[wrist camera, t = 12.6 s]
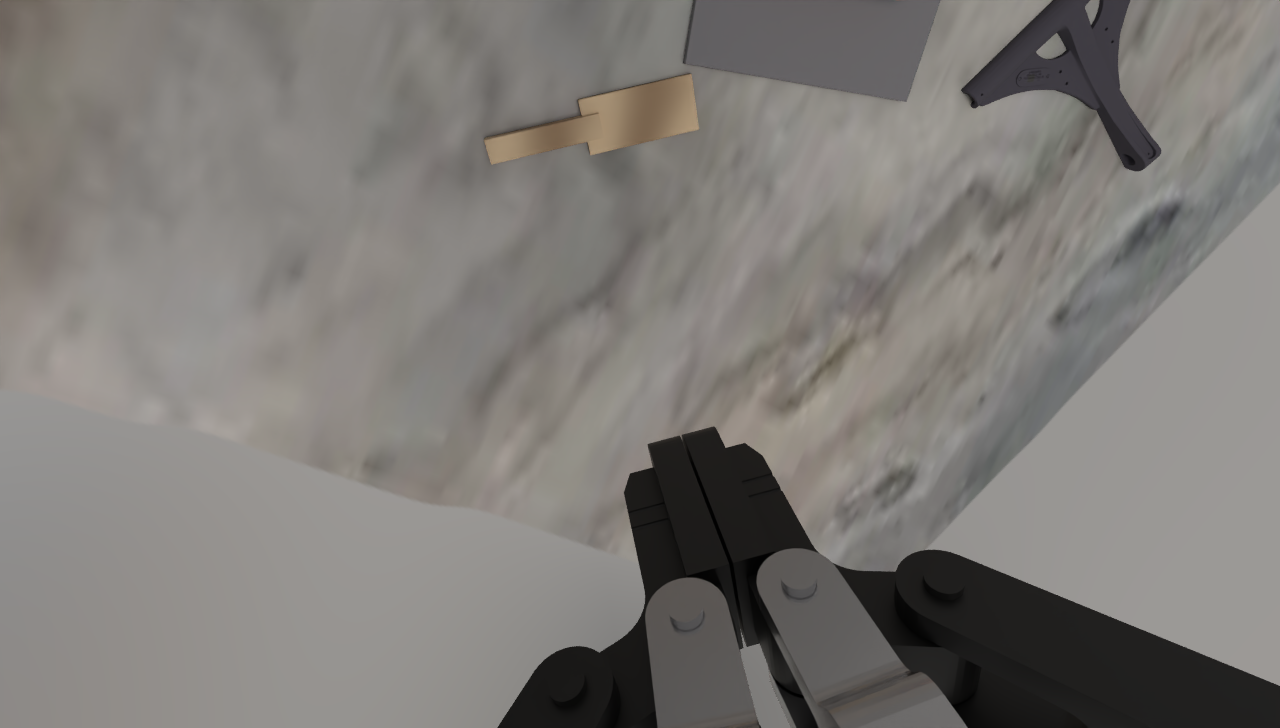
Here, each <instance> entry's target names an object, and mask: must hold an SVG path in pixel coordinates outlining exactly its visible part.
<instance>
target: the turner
mask: <svg viewBox="0 0 1280 728" xmlns="http://www.w3.org/2000/svg"><path fill="white" fill-rule="evenodd" d="M578 103H579V108H580V112H581V115H580V116H576V117H572V118H568V119H563V120H559V121H555V122H551V123H546V124H542V125H538V126H534V127H529V128H525V129H521V130H516V131H512V132H508V133H504V134H499V135H495V136H491V137H487V138H485V139H484V142H485V146H486V149H487V152H488V155H489V158H490V161H491V164H496V163H500V162H504V161H508V160H512V159H517V158H521V157H525V156H529V155H534V154H538V153H542V152H546V151H550V150H555V149H559V148H563V147H567V146H572V145H576V144H580V143H584V142H587V143H588V147H589V152H590V155H594V154H598V153H602V152H606V151H611V150H615V149H619V148H623V147H627V146H632V145H636V144H640V143H644V142H648V141H653V140H657V139H661V138H665V137H669V136H674V135H678V134H682V133H686V132H690V131H695V130H699V127H698V119H697V112H696V104H695V97H694V89H693V82H692V74H690V73H689V74H685V75H681V76H677V77H672V78H668V79H664V80H659V81H655V82H651V83H647V84H642V85H638V86H634V87H629V88H625V89H621V90H616V91H612V92H608V93H604V94H599V95H595V96H591V97H586V98H582V99H578Z"/></svg>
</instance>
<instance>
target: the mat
mask: <svg viewBox="0 0 1280 728" xmlns="http://www.w3.org/2000/svg"><path fill="white" fill-rule="evenodd" d="M939 3H940V0H898V1H893V0H694V2H693V8H692V14H691V19H690V25H689V31H688V37H687V43H686V49H685V55H684V61H683V63H686V64H691V65H697V66H703V67H709V68H714V69H720V70H726V71H732V72H738V73H743V74H749V75H755V76H761V77H766V78H772V79H778V80H784V81H789V82H795V83H801V84H807V85H813V86H818V87H824V88H830V89H836V90H841V91H847V92H853V93H859V94H864V95H870V96H876V97H882V98H888V99H893V100H899V101H905V102H906V101H907V98H908V95H909V92H910V89H911V86H912V83H913V80H914V78H915V75H916V72H917V69H918V66H919V63H920V60H921V57H922V54H923V51H924V48H925V45H926V42H927V39H928V36H929V33H930V30H931V27H932V24H933V21H934V18H935V15H936V12H937V9H938V6H939Z"/></svg>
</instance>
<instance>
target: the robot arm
mask: <svg viewBox="0 0 1280 728" xmlns="http://www.w3.org/2000/svg"><path fill="white" fill-rule="evenodd" d="M682 441H683V442H682ZM648 449H649V453H650V457H651V461H652V466H653V468H649V469H646V470H642V471H638V472H634V473H631V474H630V475H629V478H628V482H627V485H626V488H625V491H624V495H625V500H626V505H627V509H628V514H629V519H630V523H631V528H632V533H633V537H634V542H635V547H636V552H637V556H638V561H639V565H640V570H641V575H642V579H643V584H644V589H645V605H644V609H643V612H642V614H641V617H640V619H639V620H638V622H637V623H636V625H635V626H634V627H633V629H632V630H631V631H630V632H629V633H628V634H627V635H625V636H624V637H623V638H622V639H620V640H619V641H617V642H615V643H614V644H613V645H611V646H609V647H608V648H606V649H605V650H603V651H601V652H600V653H599V652H597V651H595V650H593V649H591V648H588V647H581V646H576V647H569V648H565V649H562V650H559V651H557V652H555V653H554V654H552V655H550V656H549V657H548V658H546V659H545V660H544V661H543V662H542V663H541V664H540V665H539V666H538V667H537V669H536V670H535V671H534V673H533V674H532V676H531V677H530V679H529V680H528V682H527V683H526V685H525V686H524V688H523V690H522V691H521V692H520V694H519V696H518V697H517V699H516V700H515V702H514V703H513V705H512V706H511V708H510V709H509V711H508V712H507V714H506V715H505V717H504V718H503V720H502V722H501V723H500V725H499V726H498V728H761V726H760V725H759V722H758V719H757V716H756V712H755V708H754V704H753V700H752V696H751V693H750V689H749V685H748V681H747V677H746V673H745V670H744V666H743V662H742V658H741V654H740V649H742V648H743V643H742V637H741V632H742V635H743V637H744V641H745V643H746V646H747V647H748V646H752V645H755V644H759V643H760V645H761V648H762V651H763V653H764V656H765V658H766V661H767V664H768V670H769V677H770V682H771V685H772V688H773V690H774V692H775V694H776V697H777V699H778V701H779V703H780V705H781V708H782V709H783V712H784V714H785V716H786V718H787V721H788V723H789V725H790V727H791V728H1280V686H1278V685H1276V684H1274V683H1271V682H1269V681H1266V680H1264V679H1261V678H1259V677H1256V676H1254V675H1251V674H1249V673H1247V672H1244V671H1242V670H1239V669H1237V668H1234V667H1232V666H1229V665H1227V664H1224V663H1222V662H1219V661H1217V660H1215V659H1212V658H1210V657H1207V656H1205V655H1202V654H1200V653H1198V652H1195V651H1193V650H1190V649H1187V648H1185V647H1183V646H1180V645H1178V644H1175V643H1173V642H1171V641H1168V640H1166V639H1163V638H1160V637H1158V636H1156V635H1153V634H1151V633H1148V632H1146V631H1144V630H1141V629H1139V628H1136V627H1134V626H1131V625H1129V624H1126V623H1124V622H1121V621H1119V620H1117V619H1114V618H1112V617H1109V616H1107V615H1104V614H1101V613H1099V612H1097V611H1095V610H1092V609H1090V608H1087V607H1085V606H1082V605H1080V604H1077V603H1075V602H1072V601H1070V600H1068V599H1065V598H1063V597H1060V596H1058V595H1055V594H1053V593H1050V592H1048V591H1045V590H1043V589H1041V588H1038V587H1036V586H1033V585H1031V584H1028V583H1026V582H1023V581H1021V580H1018V579H1016V578H1014V577H1011V576H1009V575H1006V574H1004V573H1001V572H999V571H996V570H994V569H991V568H989V567H987V566H984V565H982V564H979V563H977V562H974V561H972V560H969V559H967V558H964V557H962V556H960V555H957V554H954V553H951V552H947V551H941V550H924V551H918V552H915V553H913V554H911V555H909V556H907V557H906V558H905V559H903V560H902V561H901V563H900V564H899V565H898V568H897V570H896V572H882V571H856V570H851V569H847V568H844V567H841V566H838V565H836V564H834V563H832V562H831V561H830V560H829V559H827V558H826V557H824V556H823V555H821V554H819V553H818V551H817V550H816V549H815V548H814V546H813V545H812V544H811V542H810V540H809V538H808V536H807V535H806V533H805V531H804V529H803V527H802V526H801V524H800V522H799V520H798V518H797V517H796V515H795V513H794V511H793V509H792V508H791V506H790V504H789V502H788V501H787V499H786V497H785V495H784V493H783V492H782V491H781V489H780V486H779V484H778V483H777V481H776V479H775V477H773V475H772V472H771V470H770V468H769V467H768V465H767V463H766V461H765V459H764V458H763V456H762V455H761V454H759V453H758V452H757V451H755V450H754V449H752V448H751V447H750V446H748V445H747V444H745V443H743V444H739V445H735V446H732V447H728V448H725V446H724V444H723V442H722V440H721V438H720V436H719V433H718V431H717V429H716V428H715V427H710V428H706V429H702V430H699V431H695V432H691V433H687V434H683V435H682V439H681V437H680V436H676V437H673V438H669V439H665V440H661V441H657V442H654V443H650V444H648ZM740 629H741V631H740Z"/></svg>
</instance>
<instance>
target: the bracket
mask: <svg viewBox="0 0 1280 728" xmlns="http://www.w3.org/2000/svg"><path fill="white" fill-rule="evenodd" d="M1089 1H1090V0H1053V1H1052V2H1051V3H1050V4H1049V5H1048V6H1047V7H1046V8H1045V9H1044V10H1043V11H1042V12H1041V13H1040V14H1039V15H1038V16H1037V17H1036V18H1035V19H1034V20H1033V21H1032V22H1031V23H1030V24H1029V25H1027V26H1026V27H1025V28H1024V29H1023V30H1022V31H1021V32H1020V33H1019V34H1018V35H1017V36H1016V37H1015V38H1014V39H1013V40H1012V41H1011V42H1010V43H1009V44H1008V45H1007V46H1006V47H1005V48H1004V49H1003V50H1002V51H1001V52H1000V53H999V54H998V55H997V56H996V57H995V58H994V59H992V60H991V61H990V62H989V63H988V64H987V65H986V66H985V67H984V68H983V69H982V70H981V71H980V72H979V73H978V74H977V75H976V76H975V77H974V78H973V79H972V80H971V81H970V82H969V83H968V84H967V85H966V86H965V87H964V88H963V89H962V90H961V91H962V92H963V93H966V94H968V95H970V96H971V97H972V98H973V99H974V101H973V102H972V103H971V107H972V108H977V107H978V106H979V105H980V106H984V105H987V104H989V103H991V102H994V101H996V100H999V99H1001V98H1004V97H1006V96H1009V95H1013V94H1016V93H1020V92H1025V91H1031V90H1057V91H1060V92H1063V93H1066V94H1069V95H1072V96H1074V97H1076V98H1078V99H1079V100H1080V101H1082V102H1083V103H1085V104H1086V105H1087V106H1089V107H1090V108H1091V109H1094V110H1097V112H1098V114H1099V116H1100V118H1101V120H1102V122H1103V124H1104V126H1105V128H1106V130H1107V132H1108V135H1109V137H1110V139H1111V141H1112V143H1113V145H1114V147H1115V149H1116V151H1117V153H1118V155H1119V157H1120V159H1121V161H1122V163H1123V165H1124V167H1125V168H1127V169H1129V170H1132V171H1141V170H1143V169H1144V168H1146V167H1147V166H1148V165H1149V164H1150V163H1152V162H1153V161H1154V160H1155V159H1156V158H1158V157H1159V156H1160V154H1161V148H1160V147H1159V145H1158V144H1157V143H1156V142H1155V141H1154V139H1153V138H1152V137H1151V136H1150V134H1149V133H1148V132H1147V130H1146V129H1145V128H1144V126H1143V125H1142V123H1141V122H1140V121H1139V119H1138V118H1137V116H1136V115H1135V114H1134V112H1133V111H1132V109H1131V108H1130V107H1129V105H1128V103H1127V102H1126V100H1125V98H1124V96H1123V95H1122V93H1121V91H1120V90H1119V89H1120V83H1119V74H1118V50H1119V38H1120V32H1121V28H1122V25H1123V22H1124V18H1125V15H1126V11H1127V8H1128V5H1129V2H1130V0H1100V3H1099V9H1098V13H1097V15H1096V18H1095V20H1094V22H1093V24H1092V25H1091V24H1090V21H1089V18H1088V15H1087V13H1086V10H1085V5H1086V4H1087V3H1088V2H1089ZM1055 33H1058V35H1059V36H1060V38H1061V40H1062V41H1063V43H1064V45H1065V47H1066V49H1067V50H1066V51H1065V52H1064V53H1063V54H1062V55H1060V56H1058V57H1056V58H1054V59H1049V60H1047V59H1043V58H1041V57H1040V56H1039V55H1037V53H1036V51H1037V50H1038V49H1039V48H1040V47H1041V46H1042V45H1043V44H1044V43H1045V42H1047V41H1048V40H1049V39H1050V38H1051V37H1052V36H1053V35H1054V34H1055Z"/></svg>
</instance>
